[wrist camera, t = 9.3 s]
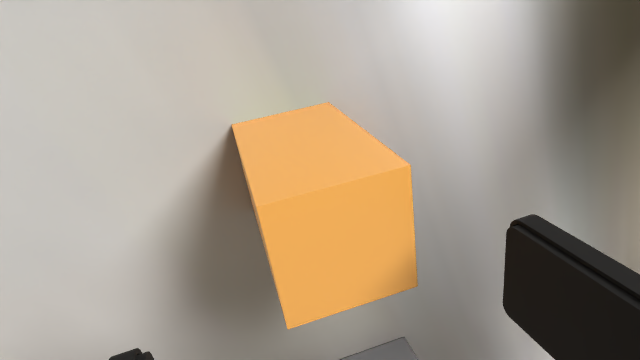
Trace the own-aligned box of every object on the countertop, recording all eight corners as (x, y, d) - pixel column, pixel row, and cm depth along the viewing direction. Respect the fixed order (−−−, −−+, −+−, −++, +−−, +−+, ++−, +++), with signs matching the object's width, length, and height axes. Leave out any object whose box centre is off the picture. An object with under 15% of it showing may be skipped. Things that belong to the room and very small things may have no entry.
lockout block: (328, 102, 19) (410, 165, 12) (341, 188, 21) (417, 286, 14) (231, 124, 18) (256, 207, 11) (254, 212, 20) (287, 329, 13)
